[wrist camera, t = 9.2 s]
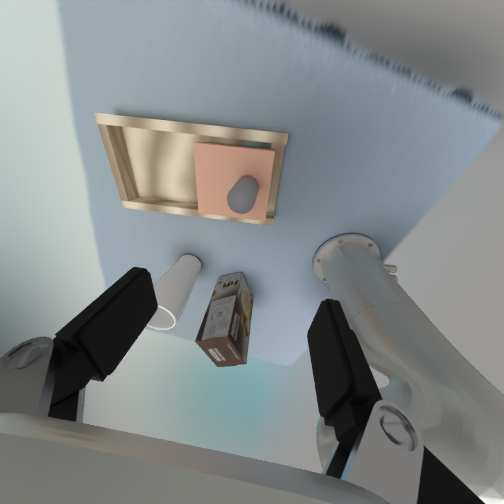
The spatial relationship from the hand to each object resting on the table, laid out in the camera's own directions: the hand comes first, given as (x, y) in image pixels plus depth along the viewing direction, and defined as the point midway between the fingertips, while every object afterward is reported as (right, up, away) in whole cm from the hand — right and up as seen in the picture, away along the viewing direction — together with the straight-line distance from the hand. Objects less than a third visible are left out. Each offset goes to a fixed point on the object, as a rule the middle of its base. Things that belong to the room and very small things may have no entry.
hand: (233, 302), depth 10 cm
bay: (-7, +16, +20) cm, 27 cm away
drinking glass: (-13, 0, +32) cm, 34 cm away
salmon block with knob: (-1, +15, +19) cm, 24 cm away
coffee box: (-3, -6, +34) cm, 35 cm away
